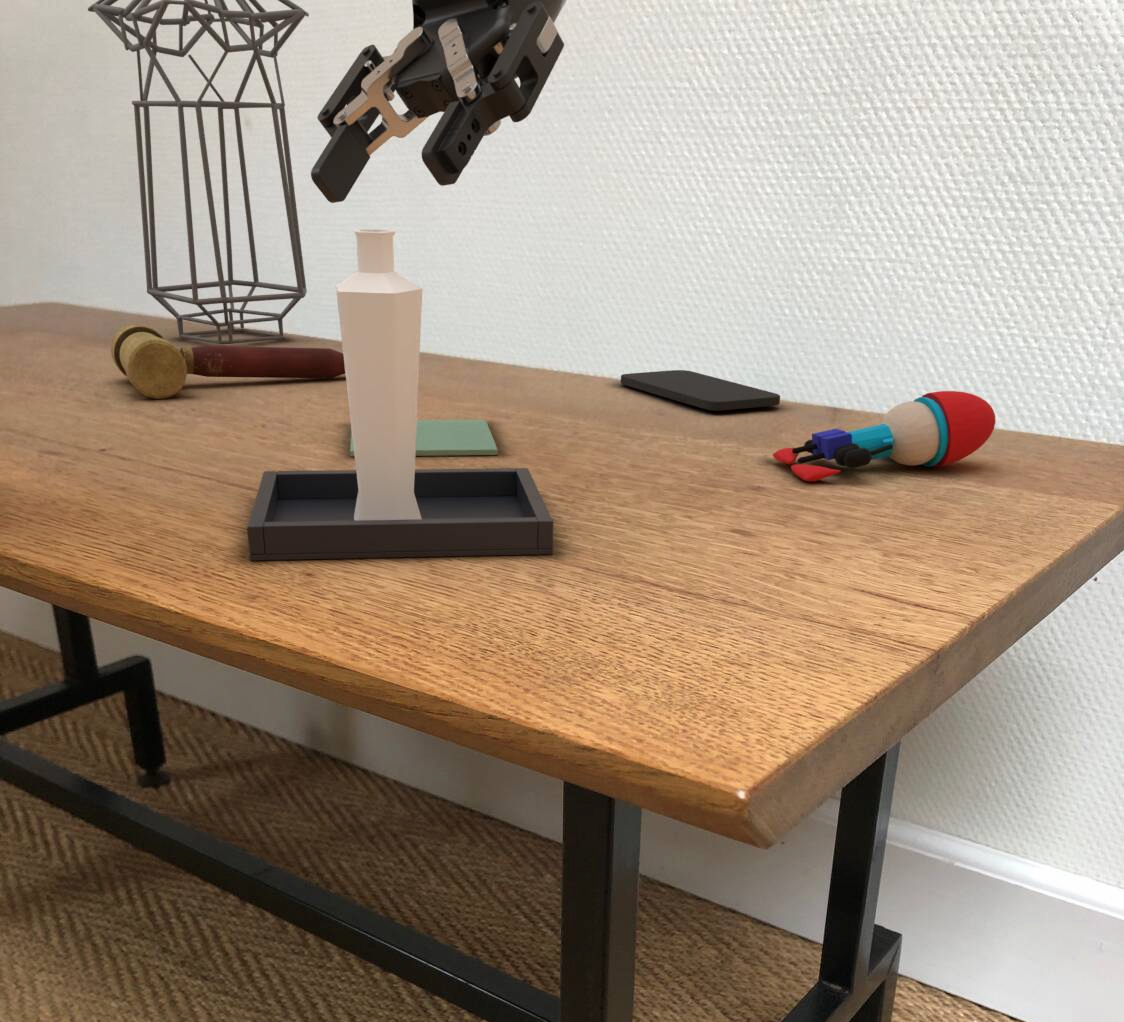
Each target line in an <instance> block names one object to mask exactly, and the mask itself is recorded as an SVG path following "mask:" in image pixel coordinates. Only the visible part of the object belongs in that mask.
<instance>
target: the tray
mask: <svg viewBox="0 0 1124 1022" xmlns="http://www.w3.org/2000/svg"><path fill="white" fill-rule="evenodd" d="M529 469H530V468H528V467H501V468H500V467H497V468H495V467H494V468H493V467H492V468H491V467H490V468H487V467H486V468H419V469H418V468H415V477H414V494H415V498H416V501H417V505H418V508H419V511H420V515H421V518H422V519H411V520H354V512H355V507H356V501H357V495H358V482H357V473H356V469H343V470H342V469H334V470H332V469H330V470H329V469H325V470H278V471H277V470H270V471H267V470H265V471H263V473H262V477H261V481H260V483H259V486H258V489H257V493H256V496H255V500H254V503H253V507H252V510H251V514H250V515H249V519H248V523H247V526H246V532H247V543H248V553H249V555H248V556H249V561H254V562H255V561H293V560H294V561H296V560H339V559H340V560H341V559H342V560H343V559H346V560H347V559H387V558H390V559H391V558H393V559H394V558H435V557H436V558H439V557H480V556H482V557H483V556H485V557H487V556H488V557H489V556H526V555H527V556H528V555H529V556H531V555H533V556H534V555H553V554H554V549H553V547H554V521H553V520H554V519H553V518H552V515H551V514H550V511H549V509H548V508H547V506H546V503H545V501H544V499H543V497H542V494H541V493H540V491H539V489H538V487H537V484H536V482H535V480H534V478H533V476H532V474H531V472H530V470H529Z"/></svg>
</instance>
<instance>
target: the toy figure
mask: <svg viewBox="0 0 1124 1022" xmlns="http://www.w3.org/2000/svg"><path fill="white" fill-rule="evenodd" d="M995 426H996V414H995V411H994V408H993V407H992V406H991V404H990V403H988V402H987V400H985V399H984V398H982V397H981V396H978V395H976V394H973V393H970V392H965V391H957V390H940V391H932V392H928V393H925V394H923V395H921V397H917V398H915V399H914V400H913V401H912V400H911V401H904V402H901V403H899V404H897V405H895V406H893V407H892V408H890V410H888V411H887V413H886V414H885V415H884V416H883V418H882V420H881V423H880V424H877V425H873V426H869V427H863V428H859V429H854V430H849V431H845V430H843V429H839V428H832V429H828V430H824V431H819V432H815V433H811V439H807V440H806V441H805V442H804V444H803V445H802V446H798V447H785V448H780V449H778V450H777V451H775V452H773V453H772V457H773V458H774V459H775V460H776V461H777V462H780V463H782V464H791V466H790V468H791V471H792V472H793V474H794V475H796V476H797V477H799V478H800V479H801V480H803V481H805V482H817V481H820V480H822V479H826V478H828V477H831V476H833V475H837V474H838V473H840V472H842V470H841V469H835V468H834V469H833V468H829V467H824V466H819V465H812V464H805V463H811V462H814V461H818V460H822V459H824V460H826V461H831V460H832V461H833V460H834V461H835V463H836V465H838V466H839V467H842V468H843V467H847V468H849V469H856V468H862V467H866V466H867V465H869V464H870V463H871V461H873V460H877V459H887V458H890V459H891V460H892V461H894V462H896V463H898V464H900V465H903V466H911V467H912V466H920V465H922V466H924V467H926V468H928V467H933V468H940V467H944V466H948V465H950V464H954V463H956V462H959V461H961V460H963V459H965V458H967V457H968V456H970V455H972V454H973V453H975V452H976V451H978V450H979V449H980V448H981V447H982V446H983V445H984V444H985V443H986V442H987V441H988V439H989V438H990V437H991V436H992V433H993V431H994V430H995ZM806 452H807V453H808V454H809V453H810V454H809V455H805V456H801V457H798V456H799V454H801V453H806ZM796 460H797V461H796ZM795 462H797V463H796V464H793V463H795ZM792 464H793V465H792Z"/></svg>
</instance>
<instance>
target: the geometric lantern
mask: <svg viewBox="0 0 1124 1022" xmlns="http://www.w3.org/2000/svg"><path fill="white" fill-rule="evenodd" d="M118 1H119V0H97V1H95V2H94V3H93V4H90V6H89V7H87V11H88V12H90V13H91V12H92V13H95V14H96V15H97V16H98V17H99V18H100V19H101V21H102V22H103V23H104V24H105V25H106V26H107V27H108V28H109V30H111V32H113V33H114V35H115V36H116V37H117V38H118V39H119V40H120V41H121V42H122V43H123V46H124V50H126V51H130V52H131V53H135V52H136V61H137V62H136V63H137V72H138V73H137V75H138V85H139V89H138V90H139V99H140V100H132V101H131V104H132V106H133V113H134V126H135V141H136V156H137V169H138V180H139V181H138V183H139V195H140V209H141V210H140V211H141V219H142V220H141V225H142V238H143V249H144V250H143V251H144V264H145V265H144V267H145V282H146V293H147V294H148V295H150V296H151V297H152V298H153V299H154V300H155V301H157V303H159V304H160V305H161V306H162V307H163V308H164V309H166V311H168V312H169V313H170V314H171V315H172V316H173V317H174V318H175V319H176V323H177V331H178V337H179V338H180V339H186V340H193V341H197V342H204V343H211V344H218V345H234V344H245V343H255V342H268V341H280V340H282V341H283V340H285V339H286V337H285V335H284V323H283V319H284V318H285V317H286V316H287V315H288V314H289V313H290V311H292V309H293V308H294V307H295V306H296V305H297V304H298V303H299V302H300V301H301V299H304V297H306V295H307V293H308V292H307V291H308V289H307V283H306V276H305V268H304V259H303V251H302V250H303V249H302V242H301V235H300V225H299V217H298V216H299V215H298V208H297V200H296V192H295V183H294V174H293V168H292V167H293V166H292V159H291V151H290V150H291V149H290V141H289V133H288V125H287V124H288V123H287V117H286V110H285V107H286V103H285V102H286V101H285V98H284V92H283V86H282V81H281V75H280V70H279V65H278V64H279V63H278V59H277V57H278V54H279V53H278V52H279V51H280V49H281V48H282V47H283V46H284V44H285V43H286V42H287V40H289V38H290V37H291V35H292V34H293V33H294V31H295V30H296V28H298V26H299V25H300V24H301V22H302V21H303V20H304V18H305V17H308V18H309V17H310V14H309V12H307V11H306V10H305V9H303V8H302V7H301V6H299V5H297V4H296V3H295V2H293V1H291V0H277V1H278V2H280V3H281V4H283V5H285V6H286V7H287V8H288V9H284V10H283V9H282V10H272V11H267V10H266V9H265V8H264V7H263V6H262V5H261V4H260V2H258V0H248V1H249V3H250V4H251V5H252V6H253V7H254V8H255V9H256V10H257V11H258V12H255V11H254V10H253V9H252V7H251V6H250V4H249V3H248V2H247V1H246V0H235V2H236V3H237V5H238V6H239V8H240V9H241V10H229V8H228V6H227V4H226V1H225V0H213V4H210V3H209V1H208V0H203V1H204V2H202V1H198V0H158V1H156V2H153V3H151V2H152V1H153V0H131V1H130V3H128V5H127V6H126V7H125V8H124V7H122V6H121V7H120V6H114V5H113V4H115V3H116V2H118ZM150 3H151V4H150ZM169 5H180V6H181V5H182V6H183V7H182V14H181V18H178V17H177V18H163V17H164V15H165V13H166V11H167V9H168V7H169ZM197 9H199V10H202V11H206V12H207V13H203V14H202V13H200V12H199V11H198V10H197ZM133 11H134V12H133ZM152 12H154V15H153V16H152V17H150V16H145V15H147V14H150V13H152ZM189 13H190V14H191V15H190V14H189ZM213 13H214V14H217V15H218V18H216V17H215V15H214V14H213ZM124 20H126V21H127V22H132V24H133V27H134V28H133V27H131V26H130V25H129V24H127V23H125V22H124ZM279 21H281V22H279ZM138 22H140V23H145V24H150V27H149V29H148V31H147V33H146V35H145V36H144V35H143V34H142V33H141V32H140V27H139V24H138ZM191 22H198V23H199V24H200V25H201V26H200V27H199V29H198V30H197V31H196V33H195V34H193V36H191V38H190V39H189V41H188V42H187V43H186V44H185V46H184V27H186V26H187V25H190V23H191ZM278 22H279V23H278ZM213 23H220V25H221V29H222V35H223V38H222V37H221V36H220V35H219V34H218V32H217V31H216V30H214V28H213V27H212V25H213ZM226 23H230V25H231V26H232V27H233V29H234V30H235V31H236V32H237V33H238V35H239V36H240V37H241V38H242V40H243V41H244V42H245V43H244V44H243V43H242V44H233V45H231V44H230V40H229V35H228V29H227V24H226ZM265 23H268V24H270V26H272V28H271V29H270V30H268V31H266V32H265V33H264V31H265V25H264V24H265ZM116 25H117V26H116ZM159 25H160V26H178V49H173V48H168V47H164V46H159V45H158V43H157V42H158V40H157V30H158V27H159ZM240 25H244V26H249V33H250V37H249V35H248V34H247V33H246V32H245V31H244V29H243V28H242V27H241V26H240ZM118 27H119V28H120V29H119V28H118ZM255 28H258V29H259V37H258V38H257V39H256V34H255ZM284 29H286V30H285V32H283V34H282V35H281V36H280V38H279V33H280V32H281V31H283V30H284ZM206 32H207V33H208V34H209V35H210V36H211V38H213V40H214V41H215V42H216V43H217V44H218V45H219V46H220V48H221V49H222V50H223V51H224V52H223V53H222V56H221V57H220V59H219V61H218V62H217V64H216V66H215V68H214V70H213V71H212V72H211V73H212V74H211V75H210V76H209V78H208V76H207V75H206V74H205V72H204V71H203V69H202V68H201V67H200V66H199V64H198V63H197V61H196V60H195V58H194V57H193V56H192V54H188V53H189V52H190V50H192V49H193V47H194V46H195V45H196V44H197V42H198V41H199V40H200V39H201V38H202V36H203V35H204V34H205V33H206ZM127 33H129V34H130V35H131V36H133V37H134V38H136V39H137V42H138V43H134V44H133V43H132V42H131V41H130V40H129V39H128V36H127ZM271 38H273V47H272V49H271V50H265V49H263V46H264V43H265V42H267V41H269V40H270V39H271ZM143 49H144V50H145V52H146V53H147V56H148V57H149V62H148V66H147V72H146V77H145V82H144V85H143V74H142V60H141V50H143ZM248 51H252V55H251V58H250V60H249V62H248V65H247V68H246V70H245V73H244V75H243V78H242V81H241V82H240V86H239V88H238V90H237V93H236V94H235V95H236V96H235V98H234V100H233V101H226V100H225V99H224V98H223V97H222V95H221V94H220V93H219V91H218V90H217V89H216V87H215V86H214V85H213V83H212V82H213V81H214V79H215V77H216V75H217V74H218V71H219V69H220V68H221V66H222V64H223V63H224V61H225V59H226V57H227V56H228V54H229V53H237V52H248ZM157 54H163V55H169V56H174V57H179V58H185V56H187V54H188V56H187V57H188V58H189V59H190V61H191V63H192V64H193V66H195V68H196V70H197V71H198V72H199V73H200V75H201V76H202V77H203V79H204V80H205V81H206V84H205V86H204V88H203V89H202V92H201V93H200V95H199V97H198V98H197V100H182V99H181V98H180V96H179V94H178V92H177V91H176V89H175V88H174V85H173V84H172V82H171V81H170V79H169V77H168V75H167V74H166V72H165V70H164V68H163V67H162V65H161V63H160V62H159V59H158V58H157ZM262 57H267V58H272V59H273V63H274V70H275V74H276V80H277V85H278V92H279V97H280V102H277V101H276V97H275V95H274V92H273V89H272V86H271V84H270V83H271V82H270V81H269V77H268V73H267V71H266V68H265V65H264V62H263V59H262ZM255 64H257V66H258V69H259V72H260V74H261V78H262V81H263V84H264V87H265V90H266V92H267V93H266V94H267V95H268V98H269V101H270V102H247V101H241V100H242V97H243V94H244V91H245V89H246V86H247V84H248V82H249V79H250V76H251V74H252V71H253V69H254V66H255ZM154 68H156V70H157V72H158V74H159V75H160V77H161V79H162V80H163V82H164V85H166V87H167V89H168V91H169V93H170V94H171V96H172V97H173V99H174V100H148V99H149V94H150V89H151V84H152V80H153V79H152V78H153V73H154ZM143 87H144V88H143ZM209 88H210V89H211V90H212V91H213V92H214V94H215V96H217V98H218V99H219V100H203V98H204V97H205V95H206V93H207V91H208V90H209ZM150 107H165V108H167V107H169V108H170V107H171V108H173V107H175V108H176V107H177V116H178V117H177V118H178V128H179V129H178V130H179V142H180V155H181V156H180V157H181V168H182V181H183V193H184V208H185V221H186V233H187V244H188V258H189V272H190V282H191V283H185V284H174V285H165V286H164V285H163V286H159V281H158V260H157V259H158V258H157V238H156V237H157V236H156V221H155V220H156V218H155V199H154V196H155V195H154V177H153V157H152V136H151V134H152V133H151V118H150V117H151V116H150ZM141 108H143V126H144V144H145V163H144V150H143V149H144V147H143V135H142V134H143V133H142V121H141V120H142V119H141ZM184 108H195V115H196V123H197V131H198V138H199V140H198V141H199V147H200V155H201V159H202V160H201V161H202V170H203V176H204V184H205V191H206V198H207V200H206V201H207V207H208V215H209V221H210V228H211V236H212V244H213V253H214V258H215V259H214V260H215V267H216V273H217V274H216V275H217V280H216V281H206V282H198V279H197V267H196V265H197V264H196V253H195V251H196V250H195V239H194V225H193V224H194V223H193V213H192V197H191V187H190V174H189V173H190V172H189V161H188V160H189V159H188V147H187V134H186V133H187V132H186V123H185V113H184ZM202 108H217V120H218V122H217V123H218V136H219V137H218V138H219V150H220V166H221V184H222V201H223V215H224V231H225V247H226V248H225V249H226V264H227V265H226V266H227V280H225V278H224V271H223V263H222V255H221V248H220V240H219V234H218V232H219V231H218V225H217V218H216V211H215V204H214V203H215V202H214V195H213V189H212V180H211V179H212V178H211V172H210V164H209V157H208V149H207V142H206V134H205V133H206V132H205V126H204V119H203V118H204V117H203V111H202ZM263 108H265V109H267V108H269V109H271V116H272V123H273V128H274V129H273V130H274V136H275V143H276V150H277V156H278V163H279V164H278V165H279V170H280V178H281V186H282V190H283V197H284V204H285V212H286V220H287V225H288V232H289V240H290V245H291V246H290V247H291V252H292V259H293V267H294V274H295V280H296V284H297V285H296V286H295V285H294V286H293V285H285V284H278V283H270V282H263V281H260V280H259V270H258V263H257V253H256V244H255V235H254V226H253V219H252V211H251V209H252V208H251V201H250V200H251V199H250V193H249V192H250V191H249V184H248V176H247V166H246V157H245V151H244V141H243V140H244V139H243V132H242V123H241V114H240V109H263ZM224 110H233V114H234V119H235V120H234V121H235V122H234V123H235V132H236V133H235V134H236V141H237V149H238V159H239V166H240V167H239V168H240V176H241V183H242V192H243V193H242V194H243V200H244V207H245V208H244V210H245V218H246V227H247V235H248V236H247V237H248V243H249V245H248V246H249V252H250V260H251V261H250V262H251V269H252V279H253V281H250V280H241V279H240V280H239V279H234V270H233V269H234V268H233V266H234V265H233V249H232V248H233V247H232V233H231V232H232V231H231V216H230V215H231V214H230V201H229V184H228V183H229V182H228V167H227V166H228V165H227V151H226V135H225V134H226V133H225V120H224ZM278 111H279V112H278ZM279 119H280V120H279ZM145 164H146V177H145ZM146 182H147V183H146ZM146 185H147V192H146ZM147 202H148V203H147ZM147 205H148V206H147ZM233 286H242V287H251V288H250V290H249V291H248V293H247V295H242V296H234V295H233ZM226 287H227V288H228V297H227V291H226ZM208 288H209V289H210V288H219V294H220V297H210V298H209V297H208V298H199V291H198V290H199V289H208ZM256 288H262V289H268V290H277V291H284V292H285V293H275V294H274V293H271V294H256V295H253V293H254V291H255V290H256ZM186 290H188V291H189V290H191V295H192V297H189V296H184V295H180V294H175V293H170V292H176V291H186ZM287 292H288V293H287ZM166 299H168V300H173V301H178V302H181V303H186V304H191V305H194V306H197V307H198V308H199V309H200V310H201V311H200V312H194V313H193V312H192V313H185V314H179V312H178V311H176V309H175V308H174V307H173V306H172V305H171V304H170V303H169V302H168V301H167V300H166ZM278 300H291V301H289V303H288V304H287V306H286V307H285V308H284V309H283V310H282V312H281V313H276V312H270V311H269V312H268V311H259V310H249V309H246V307H247V305H248V303H249V302H250V303H251V302H266V301H278ZM234 303H235V304H236V303H242V305H241V307H240V308H235V304H234ZM216 304H217V305H219V304H222V307H223V309H215V310H208V309H206V308H205V305H216ZM228 304H229V305H230V308H228ZM233 313H234V314H239V319H237V320H236V319H235V320H234V316H233V315H234V314H233ZM218 314H223V317H224V318H223V319H224V322H219V321H218V320H217V319H216V318H215V317H214V316H213V315H218ZM244 314H247V315H255V316H264V317H258V318H247V319H244ZM204 316H207V318H209V319H210V320H208V319H202V318H196V317H204ZM265 316H266V317H265ZM183 321H188V322H192V323H193V322H194V323H198V324H204V325H208V326H215V327H216V329H210V330H209V329H208V330H199V331H197V330H196V331H187V332H185V331H184V322H183ZM274 321H277V325H278V332H279V333H278V332H277V333H276V332H271V331H262V330H256V329H249V328H245V324H252V323H253V324H255V323H265V322H274ZM235 325H239V327H240V328H235ZM221 327H227V328H224V329H223V328H222V329H221ZM226 333H227V336H228V339H225V340H222V334H226ZM233 333H239V334H240V333H243V334H244V333H246V334H247V333H248V334H254V335H261V337H249V338H238V339H234V338H233ZM214 334H216V335H217V339H214V338H209V337H203V336H205V335H214ZM202 335H203V336H202Z"/></svg>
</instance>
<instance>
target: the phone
mask: <svg viewBox="0 0 1124 1022" xmlns="http://www.w3.org/2000/svg"><path fill="white" fill-rule="evenodd" d="M620 384H621V385H623V386H627V387H631V388H632V389H636V390H640V391H643V392H645V393H646V392H647V393H649V394H652V395H657V396H660V397H663V398H667V399H669V400H673V401H676V402H679V403H683V404H686V405H689V406H693V407H697V408H699V409H703V410H707V411H711V412H723V411H731V410H740V409H741V410H743V409H751V408H752V409H753V408H754V409H755V408H763V407H764V408H765V407H774V406H779V405H780V404H781V395H780V394H779V393H775V392H771V391H768V390H764V389H761V388H756V387H753V386H749V385H745V384H741V383H737V382H734V381H730V380H727V379H722V378H718V377H715V376H711V375H708V374H707V375H706V374H704V373H700V372H697V371H696V372H695V371H692V370H686V369H685V370H684V369H675V370H674V369H673V370H659V371H646V372H632V373H631V372H630V373H623V374H621V375H620Z"/></svg>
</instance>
